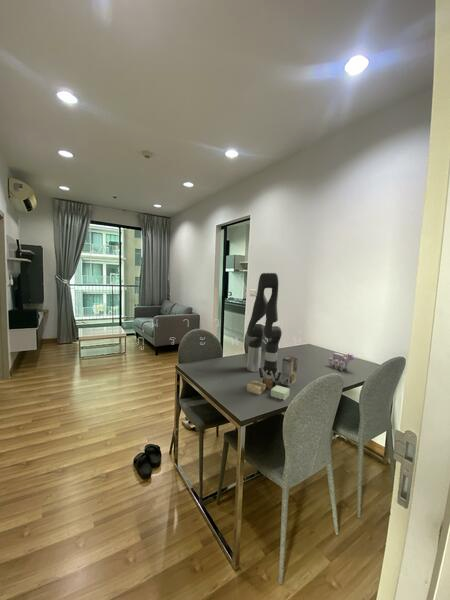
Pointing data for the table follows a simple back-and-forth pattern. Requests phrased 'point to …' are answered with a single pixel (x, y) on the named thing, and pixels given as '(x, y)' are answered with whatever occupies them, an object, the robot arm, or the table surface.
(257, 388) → the oak base block
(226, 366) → the table surface
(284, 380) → the coffee box
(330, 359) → the toy sheep
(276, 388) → the sage base block
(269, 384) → the walnut cube
